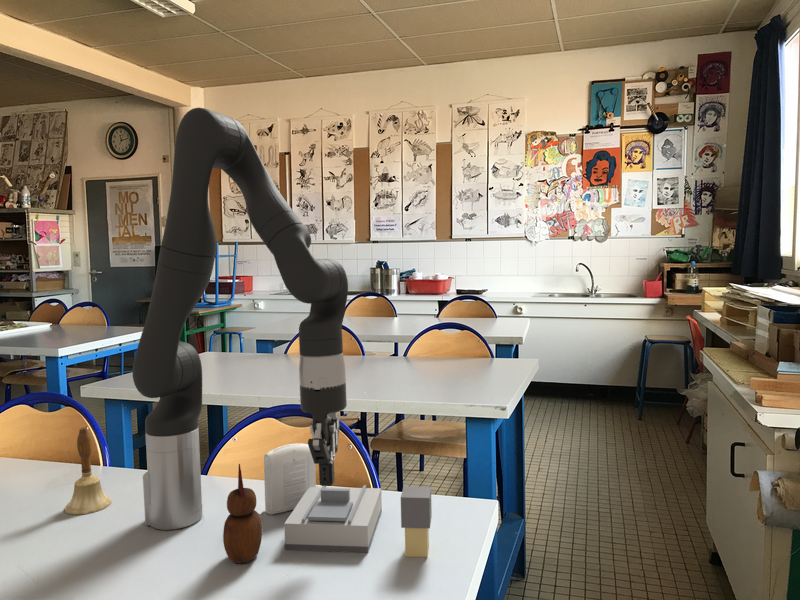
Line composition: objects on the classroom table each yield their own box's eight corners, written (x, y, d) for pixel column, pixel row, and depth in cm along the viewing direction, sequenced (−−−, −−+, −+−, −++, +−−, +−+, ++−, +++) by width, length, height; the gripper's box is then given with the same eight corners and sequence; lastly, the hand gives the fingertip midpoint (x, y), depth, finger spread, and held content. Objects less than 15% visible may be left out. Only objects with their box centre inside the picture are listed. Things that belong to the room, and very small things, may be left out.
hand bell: (114, 507, 119) (110, 428, 118) (67, 518, 114) (61, 436, 113) (107, 494, 126) (103, 419, 125) (62, 504, 121) (57, 426, 120)
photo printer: (310, 497, 122) (308, 437, 121) (319, 504, 118) (318, 442, 118) (262, 509, 116) (259, 447, 116) (270, 517, 113) (267, 453, 112)
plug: (401, 557, 97) (400, 497, 96) (404, 544, 101) (403, 486, 101) (430, 558, 96) (429, 498, 95) (432, 545, 101) (431, 486, 100)
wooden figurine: (232, 547, 101) (229, 460, 100) (266, 547, 101) (263, 460, 100) (219, 568, 95) (215, 475, 93) (255, 568, 94) (252, 474, 93)
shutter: (307, 520, 100) (307, 505, 100) (318, 502, 108) (318, 488, 107) (345, 521, 99) (345, 506, 99) (353, 503, 107) (353, 488, 107)
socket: (285, 549, 100) (284, 520, 100) (310, 509, 116) (309, 483, 116) (368, 552, 99) (367, 522, 98) (381, 511, 114) (381, 485, 114)
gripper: (310, 373, 105) (315, 470, 107) (288, 390, 92) (293, 500, 93) (352, 373, 105) (356, 470, 106) (336, 389, 91) (341, 500, 93)
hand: (327, 484), depth 100 cm, fingers closed
